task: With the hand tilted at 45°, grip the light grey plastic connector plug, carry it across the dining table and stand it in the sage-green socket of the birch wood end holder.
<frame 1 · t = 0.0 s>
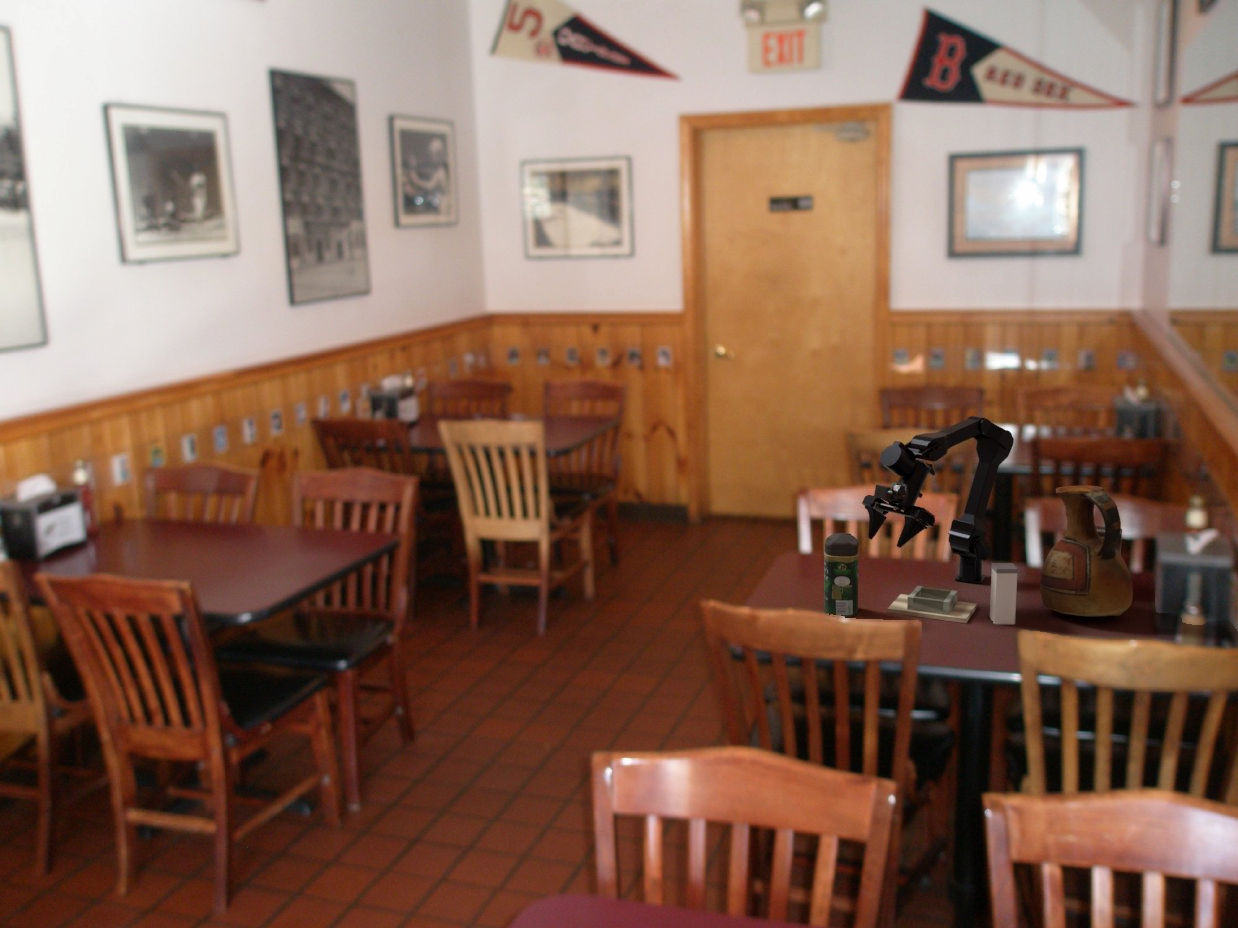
hand: (883, 542, 271), 15 cm above the table, tool tilted 35°, fingers open, 9 cm apart
connector plug: (1002, 620, 259), on the table
coffee box: (1097, 593, 277), on the table
coffee jar: (840, 612, 268), on the table
ceramic pitcher: (1084, 614, 263), on the table
end holder: (932, 610, 268), on the table
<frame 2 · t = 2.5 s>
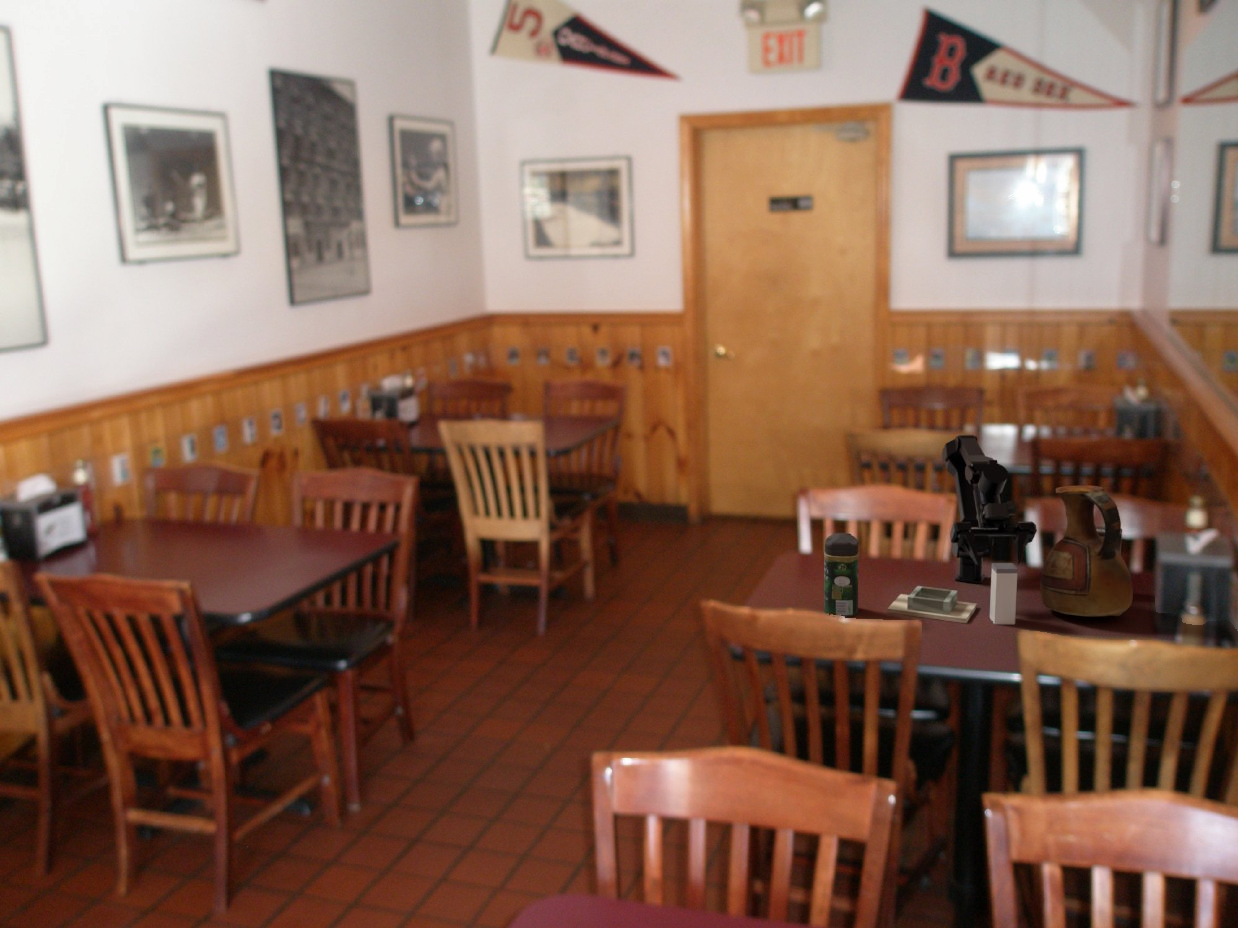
hand: (998, 564, 262), 12 cm above the table, tool tilted 45°, fingers open, 9 cm apart
nothing on the table moved.
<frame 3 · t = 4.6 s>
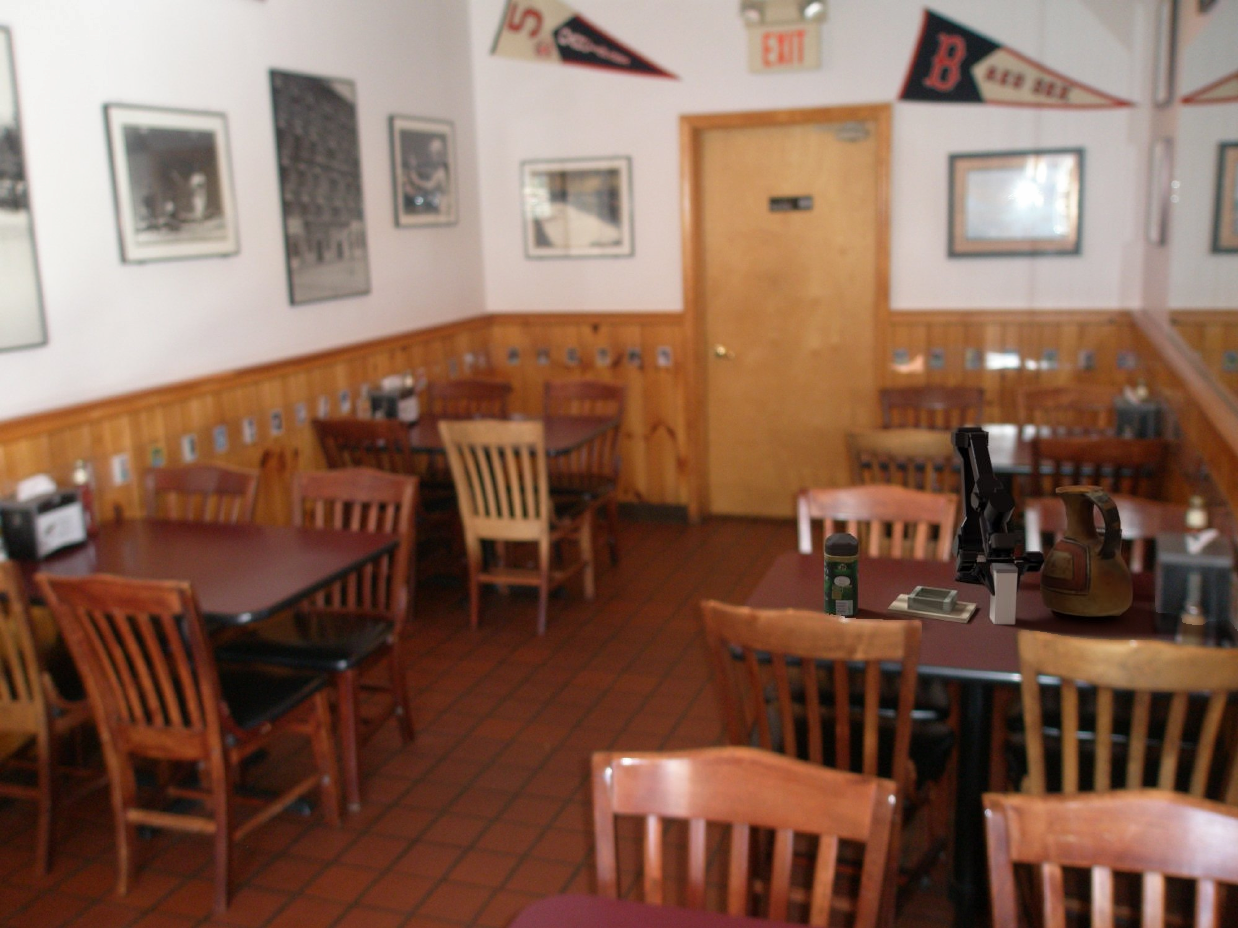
hand: (1005, 595, 257), 7 cm above the table, tool tilted 45°, fingers closed on connector plug, 4 cm apart
connector plug: (1002, 620, 259), on the table, touching gripper
everything else where it was.
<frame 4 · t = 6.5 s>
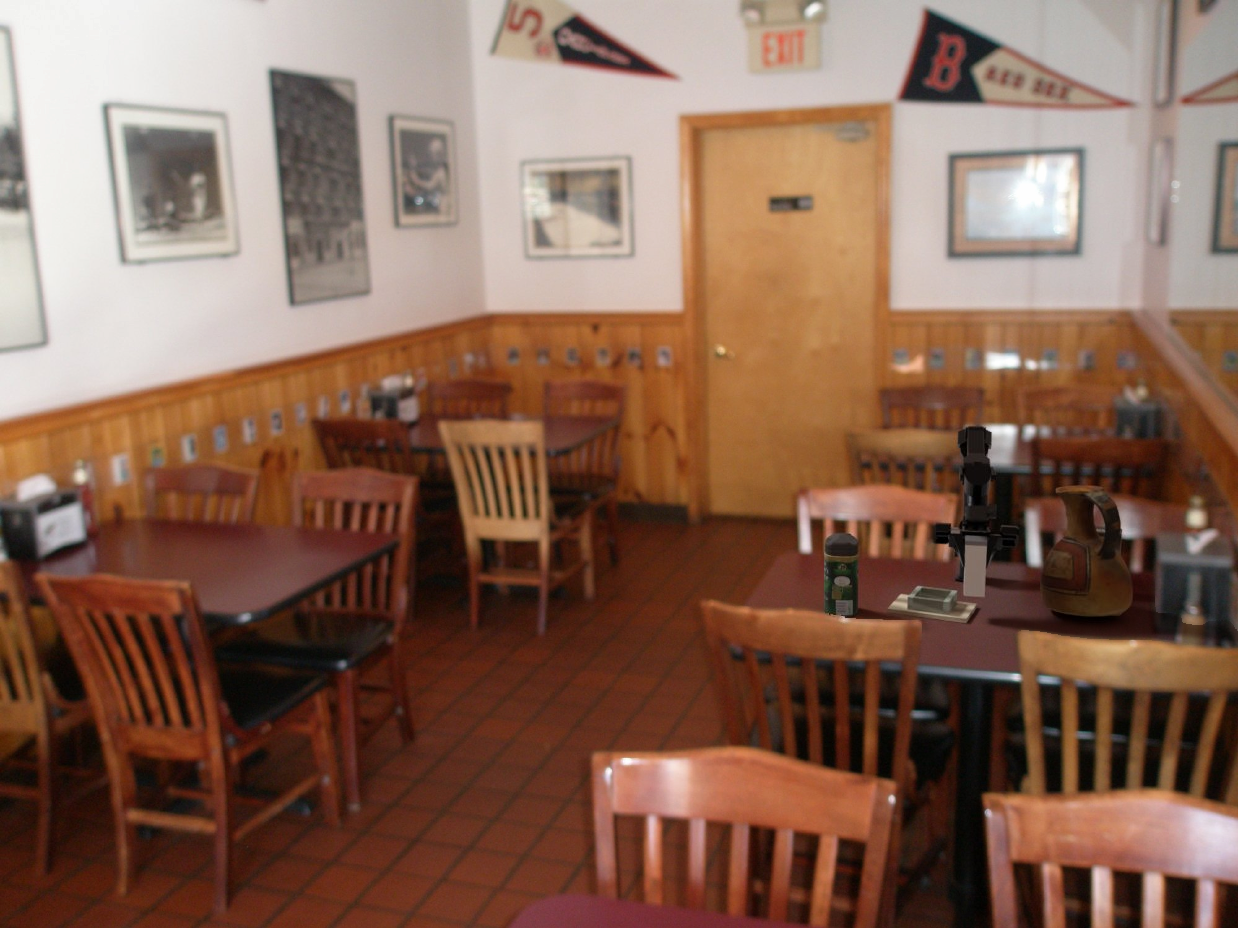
hand: (975, 567, 258), 12 cm above the table, tool tilted 45°, fingers closed on connector plug, 4 cm apart
connector plug: (973, 593, 261), point 6 cm above the table, touching gripper
everything else where it was.
when the fingers open (9 cm above the table, at t = 8.4 s): connector plug drops 2 cm, resting on end holder.
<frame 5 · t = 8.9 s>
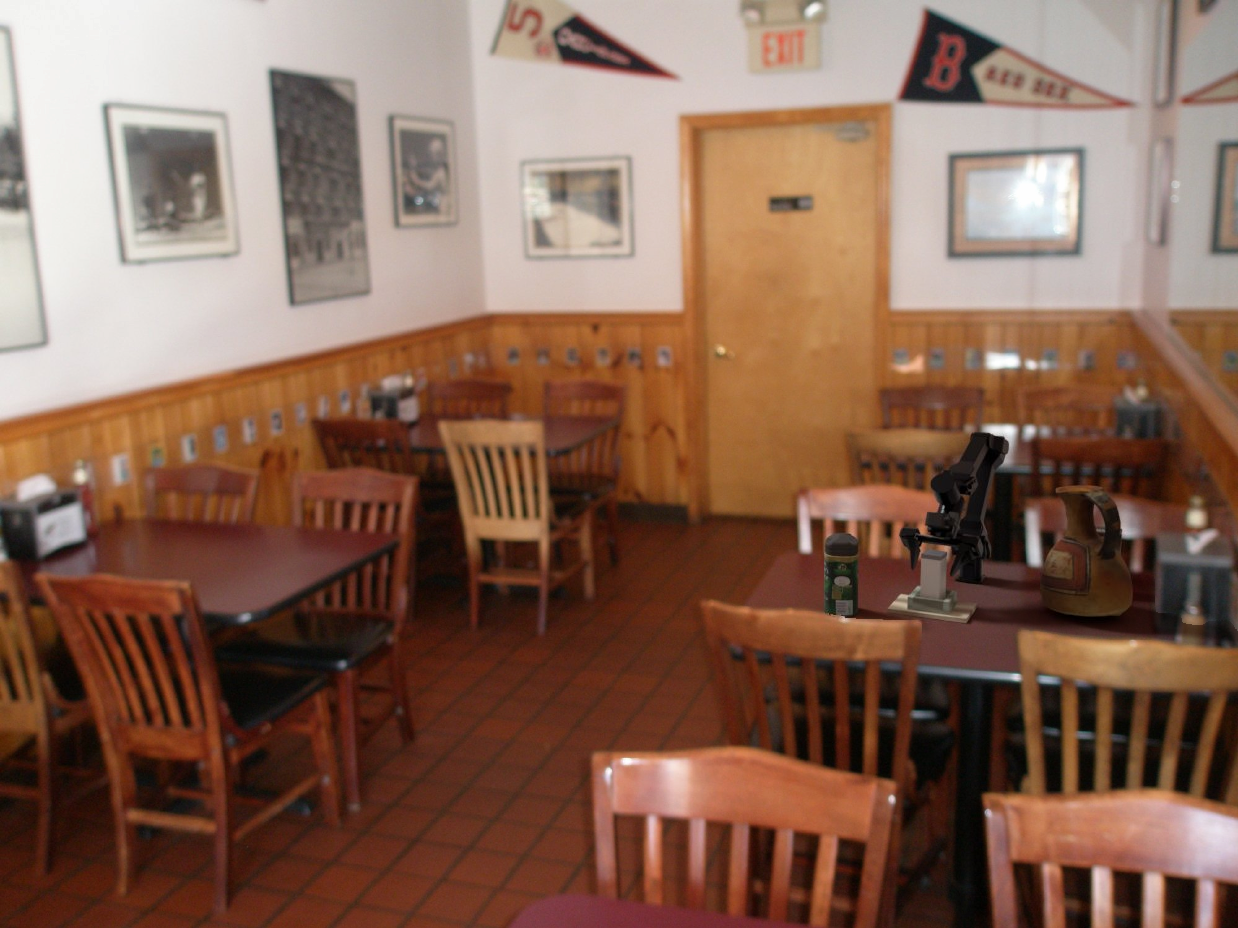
hand: (931, 572, 265), 10 cm above the table, tool tilted 45°, fingers open, 9 cm apart
connector plug: (932, 606, 267), point 1 cm above the table, touching end holder
everything else where it was.
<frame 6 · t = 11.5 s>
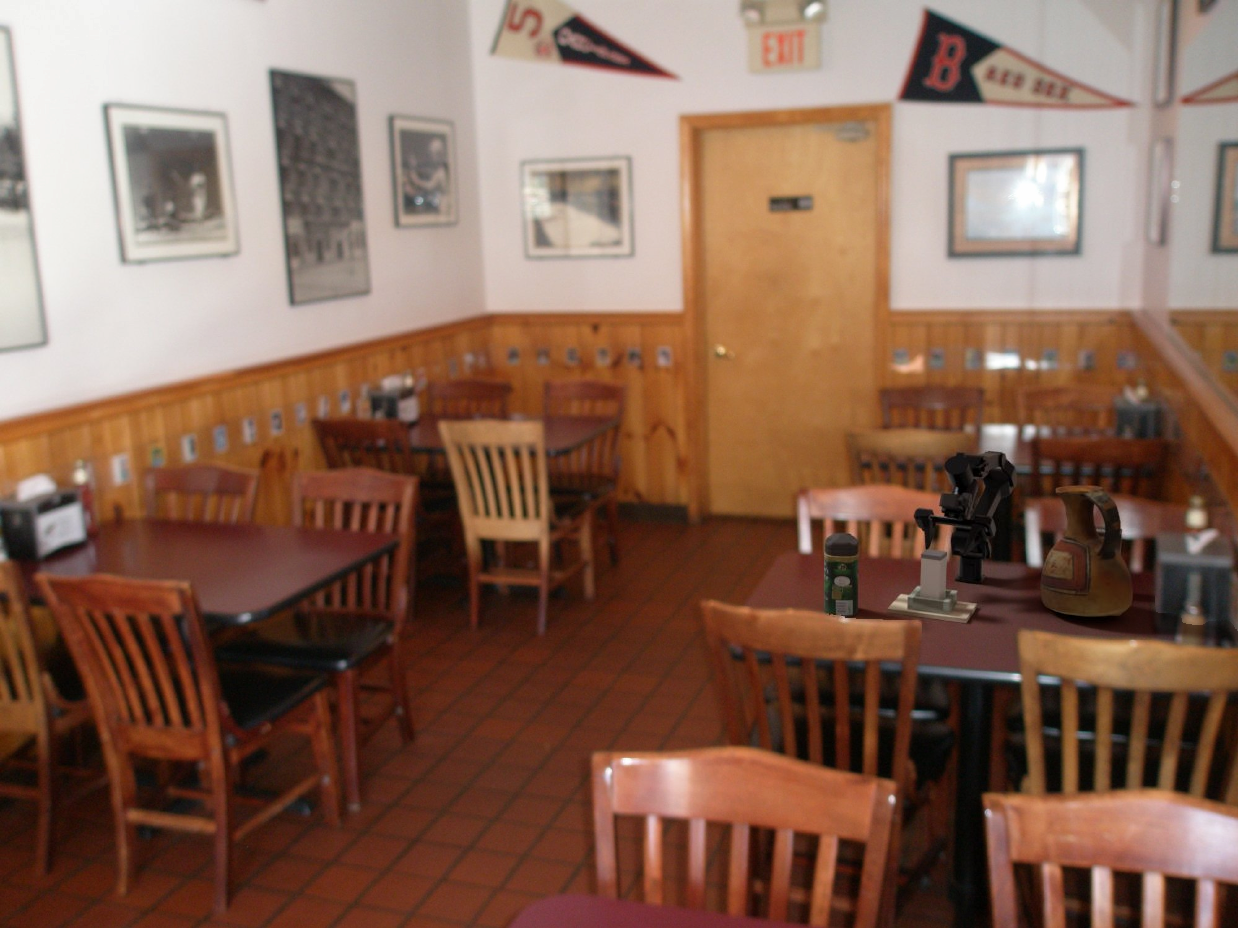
hand: (945, 552, 272), 12 cm above the table, tool tilted 45°, fingers open, 9 cm apart
nothing on the table moved.
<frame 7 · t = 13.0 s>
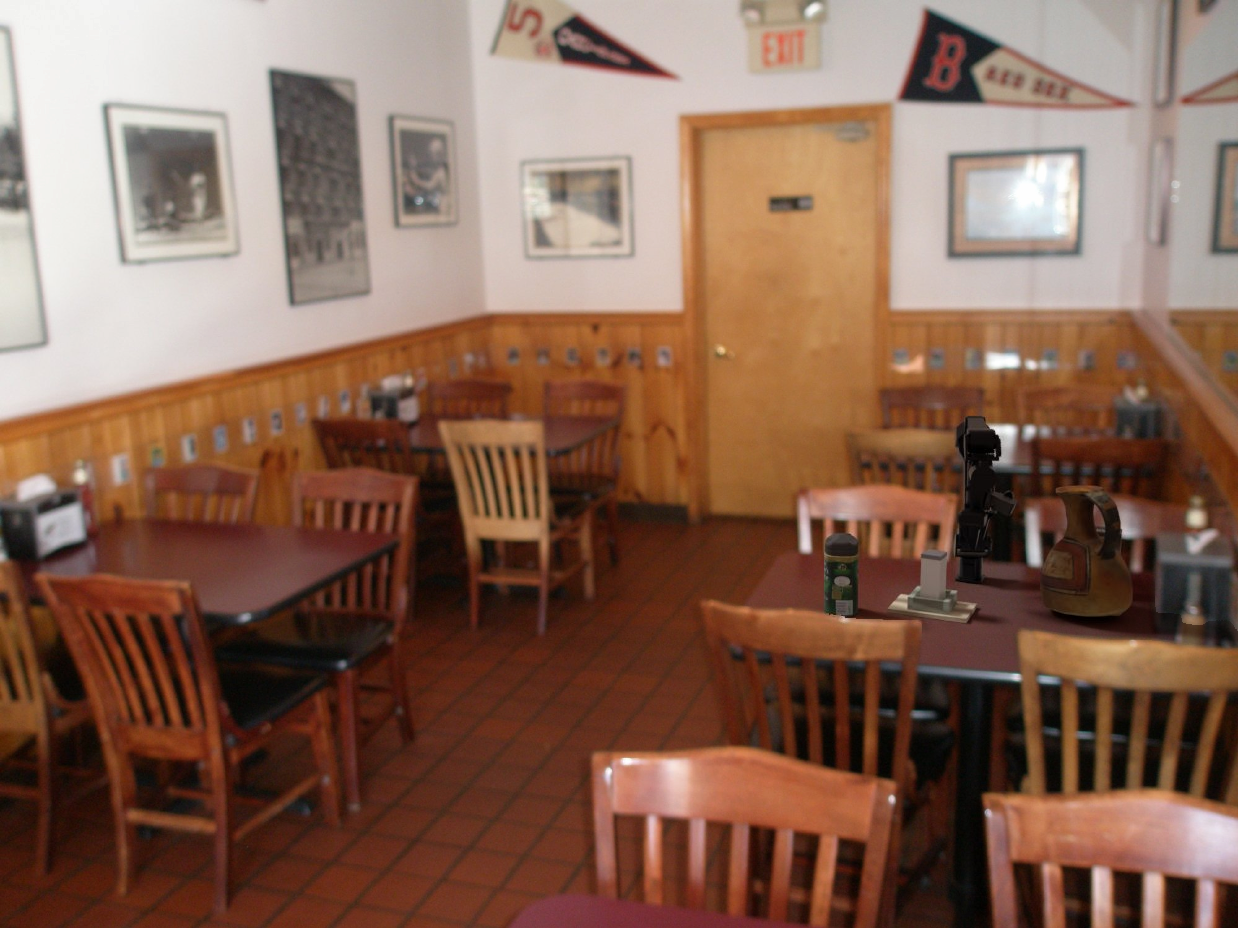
hand: (977, 545, 274), 13 cm above the table, tool pointing down, fingers open, 9 cm apart
nothing on the table moved.
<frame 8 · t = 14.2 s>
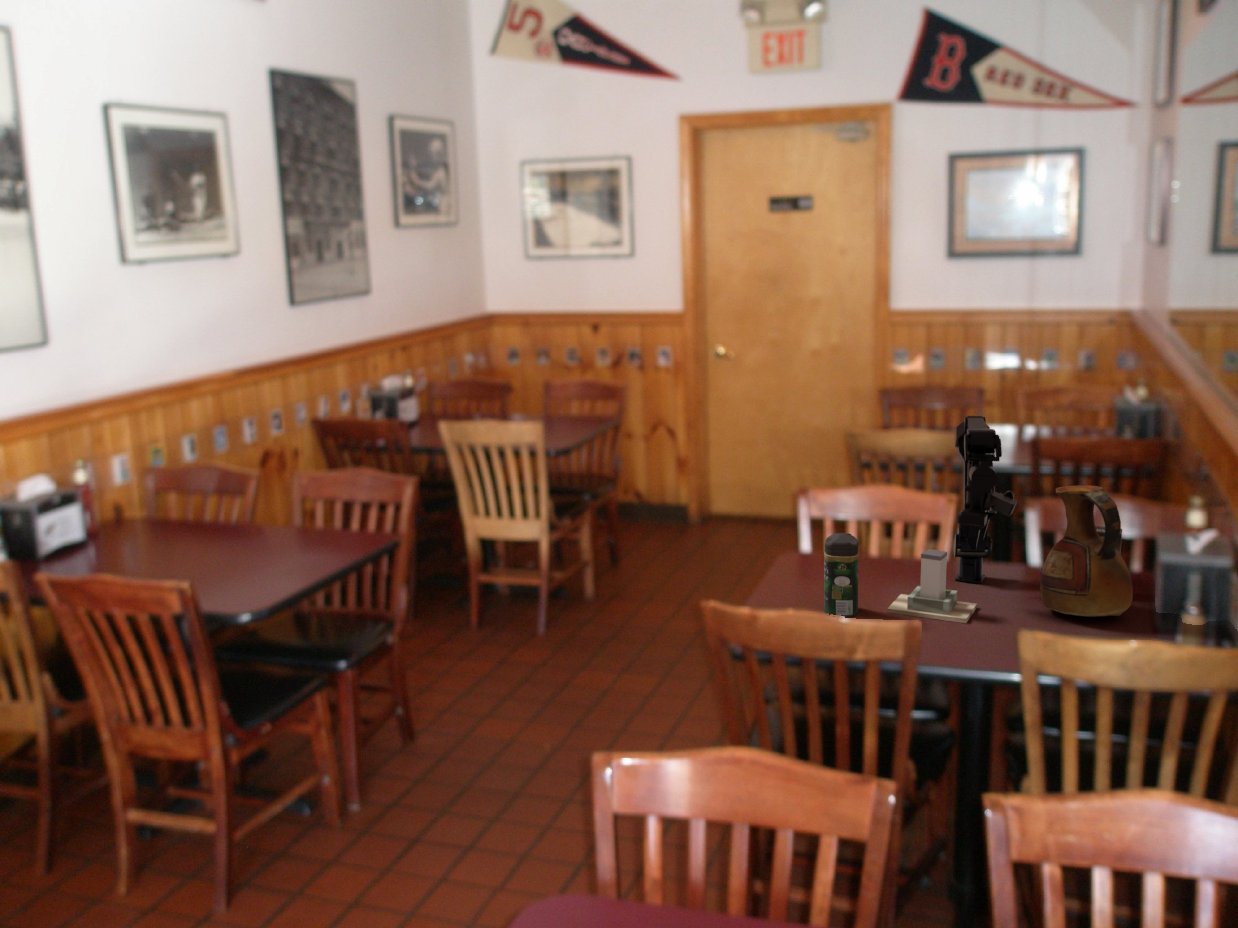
hand: (977, 545, 274), 13 cm above the table, tool pointing down, fingers open, 9 cm apart
nothing on the table moved.
at the end: connector plug 0.0 cm off-centre on the end holder, point 1.0 cm above the end holder's base; connector plug tilted 0°; the gripper is holding nothing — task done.
